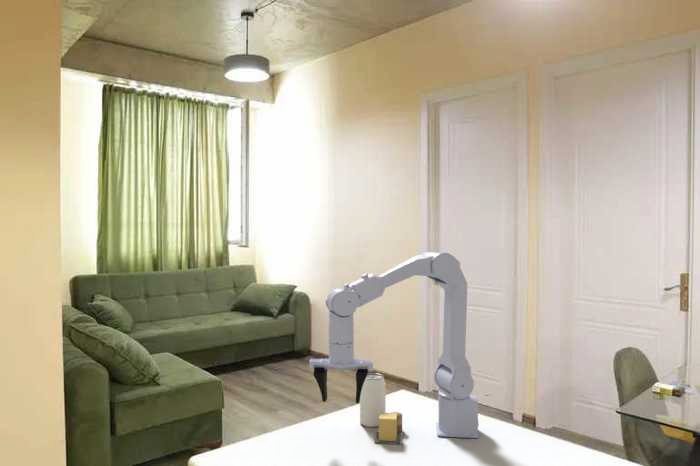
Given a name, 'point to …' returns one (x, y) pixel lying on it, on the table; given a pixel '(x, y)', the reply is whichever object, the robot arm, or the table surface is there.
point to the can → (372, 400)
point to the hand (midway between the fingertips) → (341, 401)
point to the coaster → (398, 441)
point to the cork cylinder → (399, 422)
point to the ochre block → (388, 426)
